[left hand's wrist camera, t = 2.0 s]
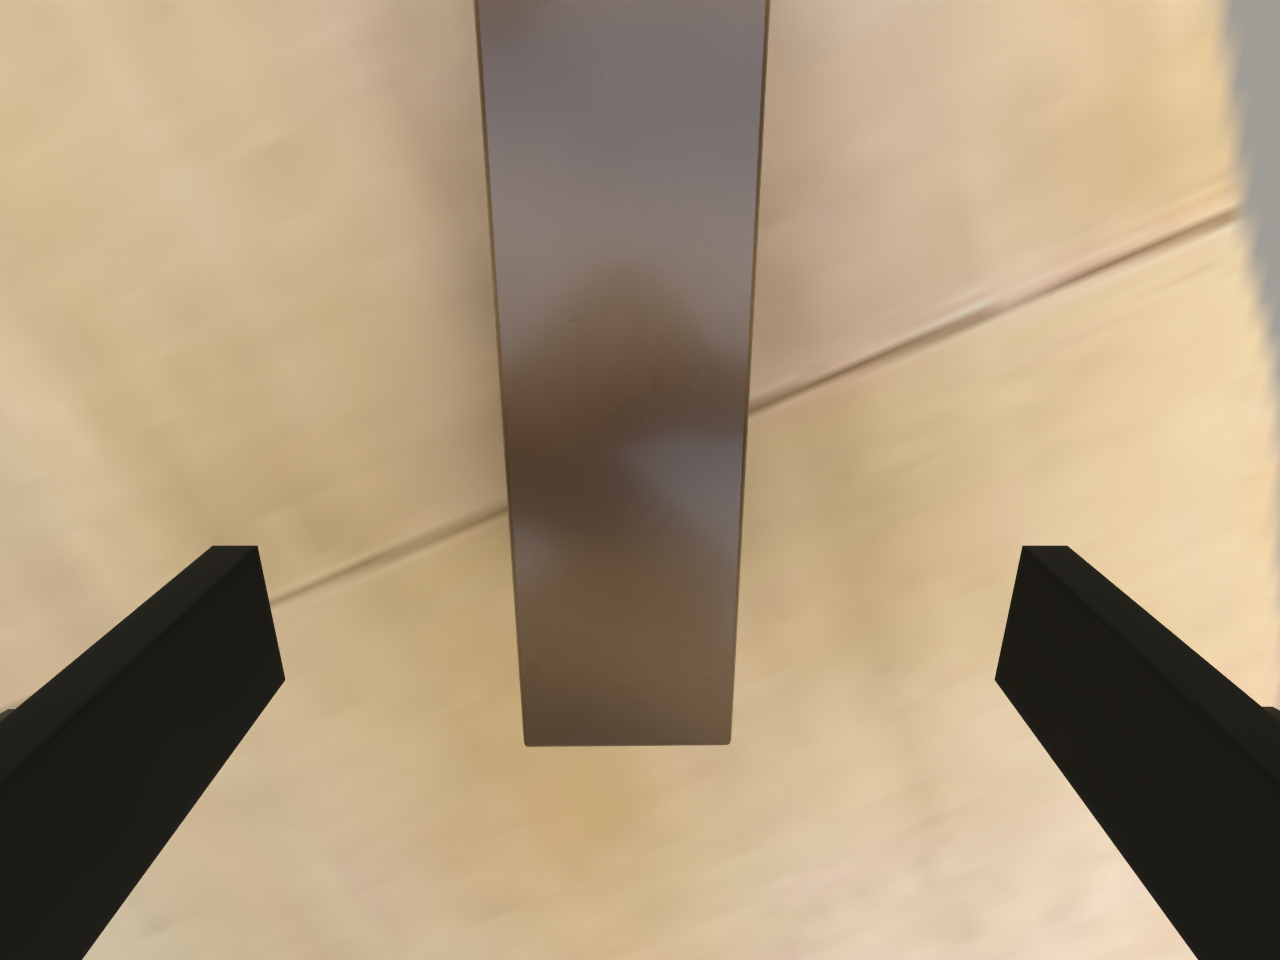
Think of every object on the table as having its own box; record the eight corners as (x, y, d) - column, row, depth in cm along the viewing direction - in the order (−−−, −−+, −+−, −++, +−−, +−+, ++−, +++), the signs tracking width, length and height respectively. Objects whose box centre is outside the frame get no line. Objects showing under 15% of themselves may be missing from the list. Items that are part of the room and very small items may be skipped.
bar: (698, 569, 24) (731, 746, 16) (558, 570, 24) (523, 748, 16) (727, -399, 16) (824, -986, 8) (516, -401, 16) (405, -995, 8)
